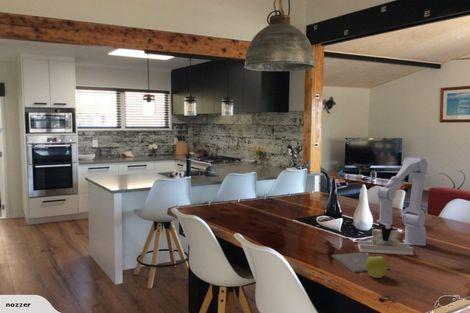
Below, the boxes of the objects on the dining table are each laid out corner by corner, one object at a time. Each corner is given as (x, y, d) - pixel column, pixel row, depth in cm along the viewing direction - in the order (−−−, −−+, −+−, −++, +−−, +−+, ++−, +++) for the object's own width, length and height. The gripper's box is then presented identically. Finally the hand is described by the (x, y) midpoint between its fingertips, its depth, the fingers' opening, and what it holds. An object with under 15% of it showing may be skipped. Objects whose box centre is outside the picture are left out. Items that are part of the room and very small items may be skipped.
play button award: (354, 270, 169) (332, 254, 188) (354, 273, 169) (332, 258, 189) (389, 266, 173) (363, 252, 192) (389, 270, 173) (363, 255, 192)
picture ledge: (408, 248, 201) (408, 242, 201) (413, 254, 192) (413, 248, 191) (357, 245, 206) (358, 239, 206) (360, 251, 196) (360, 245, 196)
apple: (389, 278, 159) (382, 253, 160) (369, 281, 162) (362, 257, 163) (390, 272, 167) (383, 248, 167) (370, 275, 170) (363, 251, 170)
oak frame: (397, 246, 199) (398, 230, 198) (399, 248, 196) (399, 232, 195) (372, 245, 201) (372, 229, 200) (372, 246, 198) (373, 230, 197)
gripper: (375, 208, 205) (374, 235, 206) (379, 214, 191) (378, 243, 192) (389, 209, 204) (389, 235, 205) (395, 215, 189) (394, 244, 191)
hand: (385, 239), depth 198 cm, fingers closed on oak frame, 3 cm apart
